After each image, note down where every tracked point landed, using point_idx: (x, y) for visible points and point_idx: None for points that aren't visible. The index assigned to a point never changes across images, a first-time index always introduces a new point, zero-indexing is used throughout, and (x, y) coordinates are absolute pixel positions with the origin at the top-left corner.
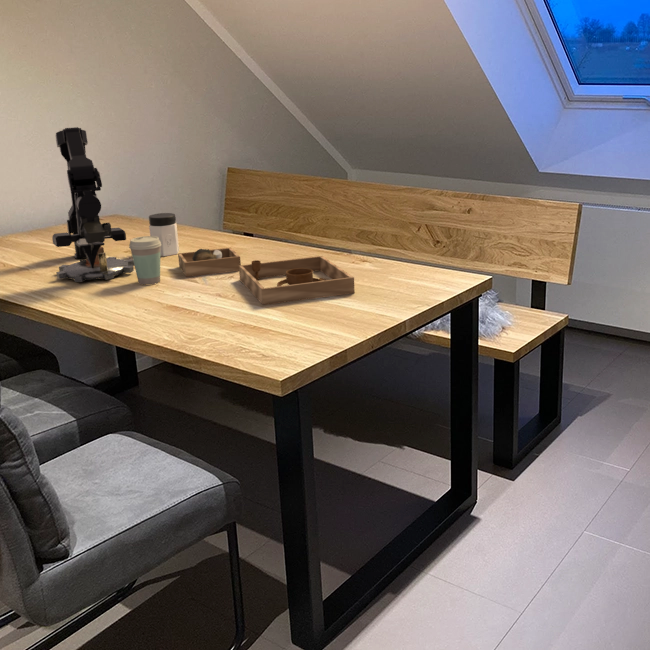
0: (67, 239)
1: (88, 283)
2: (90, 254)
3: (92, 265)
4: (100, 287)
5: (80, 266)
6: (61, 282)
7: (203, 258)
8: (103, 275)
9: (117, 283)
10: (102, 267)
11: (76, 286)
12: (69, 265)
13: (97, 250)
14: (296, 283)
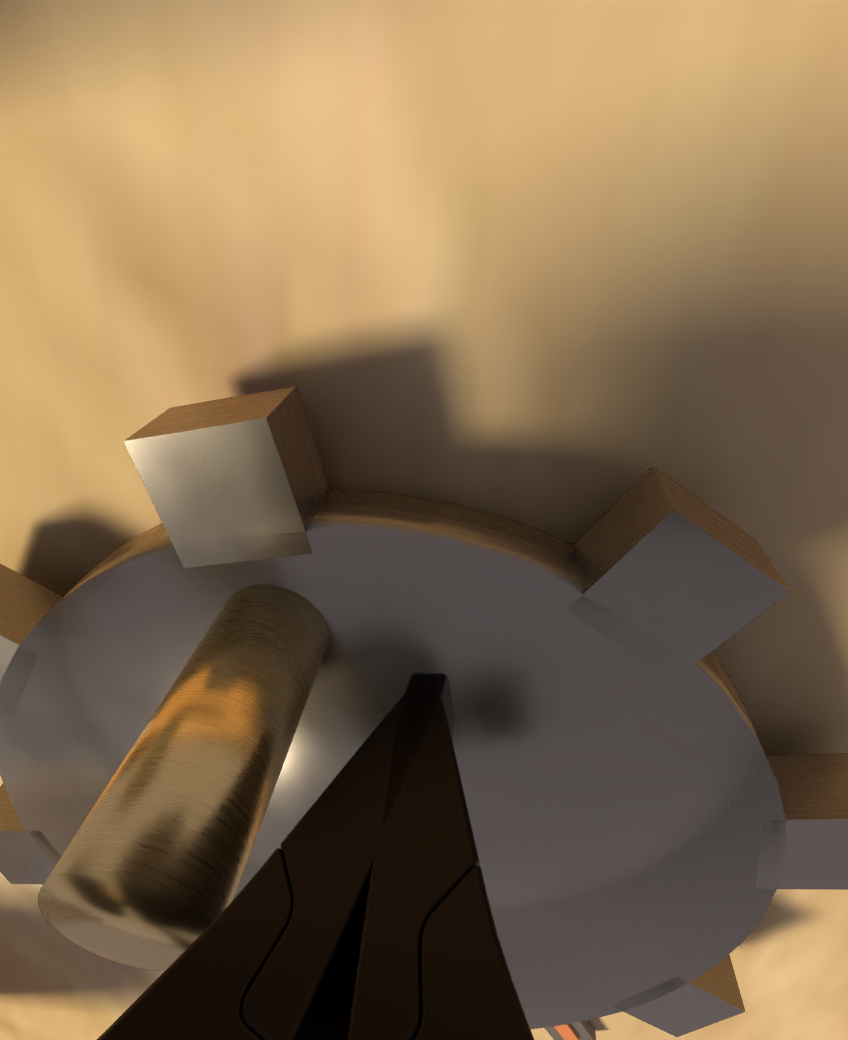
0: None
1: (551, 466)
2: (402, 935)
3: (425, 699)
4: (419, 68)
5: (532, 927)
6: (838, 695)
7: None
8: (301, 473)
9: (129, 208)
10: (267, 640)
11: (762, 395)
12: (627, 998)
13: (139, 1025)
14: None
